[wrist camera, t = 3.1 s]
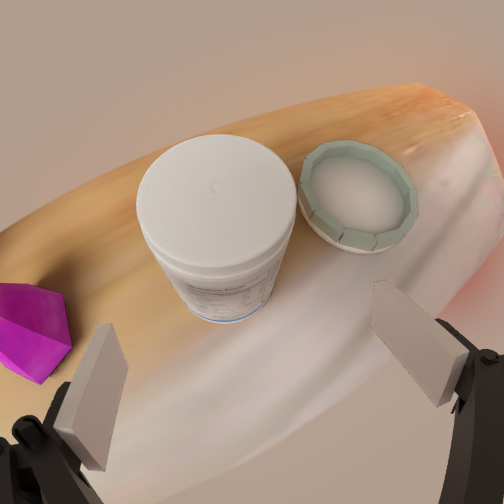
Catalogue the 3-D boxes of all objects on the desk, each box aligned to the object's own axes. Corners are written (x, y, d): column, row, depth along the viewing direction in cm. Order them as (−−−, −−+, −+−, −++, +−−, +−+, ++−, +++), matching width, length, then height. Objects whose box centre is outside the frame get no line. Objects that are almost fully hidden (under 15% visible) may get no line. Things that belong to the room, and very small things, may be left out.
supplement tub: (171, 244, 32) (132, 144, 18) (260, 227, 33) (272, 120, 20) (186, 336, 28) (136, 284, 14) (285, 315, 29) (323, 247, 16)
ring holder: (287, 237, 32) (291, 222, 30) (305, 145, 38) (309, 129, 36) (407, 267, 31) (419, 255, 29) (404, 173, 37) (413, 159, 35)
